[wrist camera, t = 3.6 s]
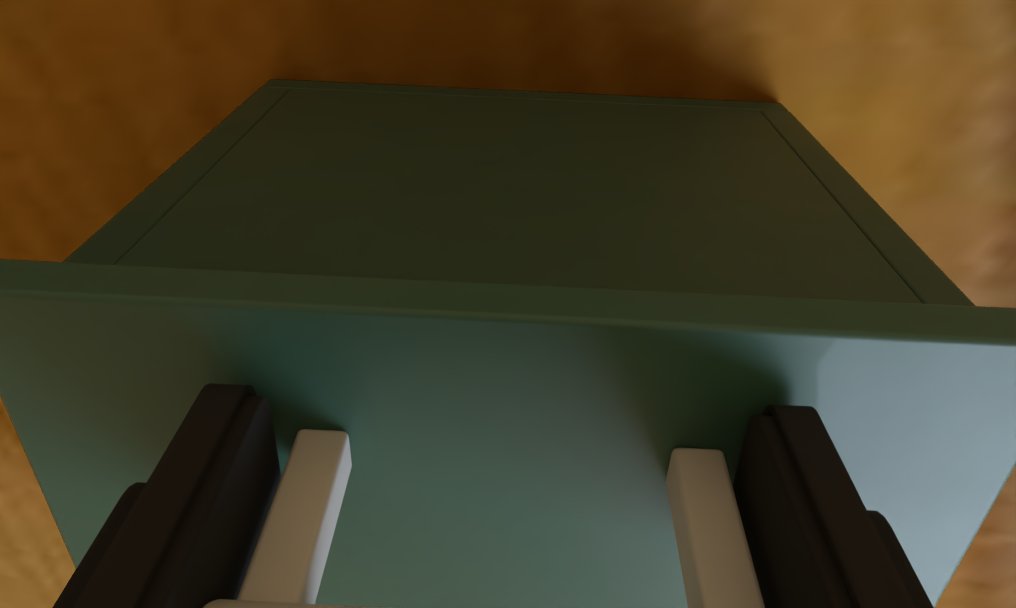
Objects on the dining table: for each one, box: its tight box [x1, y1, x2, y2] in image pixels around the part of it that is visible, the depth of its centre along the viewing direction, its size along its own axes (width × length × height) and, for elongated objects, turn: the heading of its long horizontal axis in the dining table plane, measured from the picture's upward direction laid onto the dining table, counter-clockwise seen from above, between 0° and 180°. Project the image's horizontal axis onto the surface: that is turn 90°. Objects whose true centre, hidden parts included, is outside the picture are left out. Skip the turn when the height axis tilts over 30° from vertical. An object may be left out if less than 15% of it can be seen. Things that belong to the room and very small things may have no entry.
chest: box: [63, 79, 975, 306], centre depth 20 cm, size 16×14×11 cm
